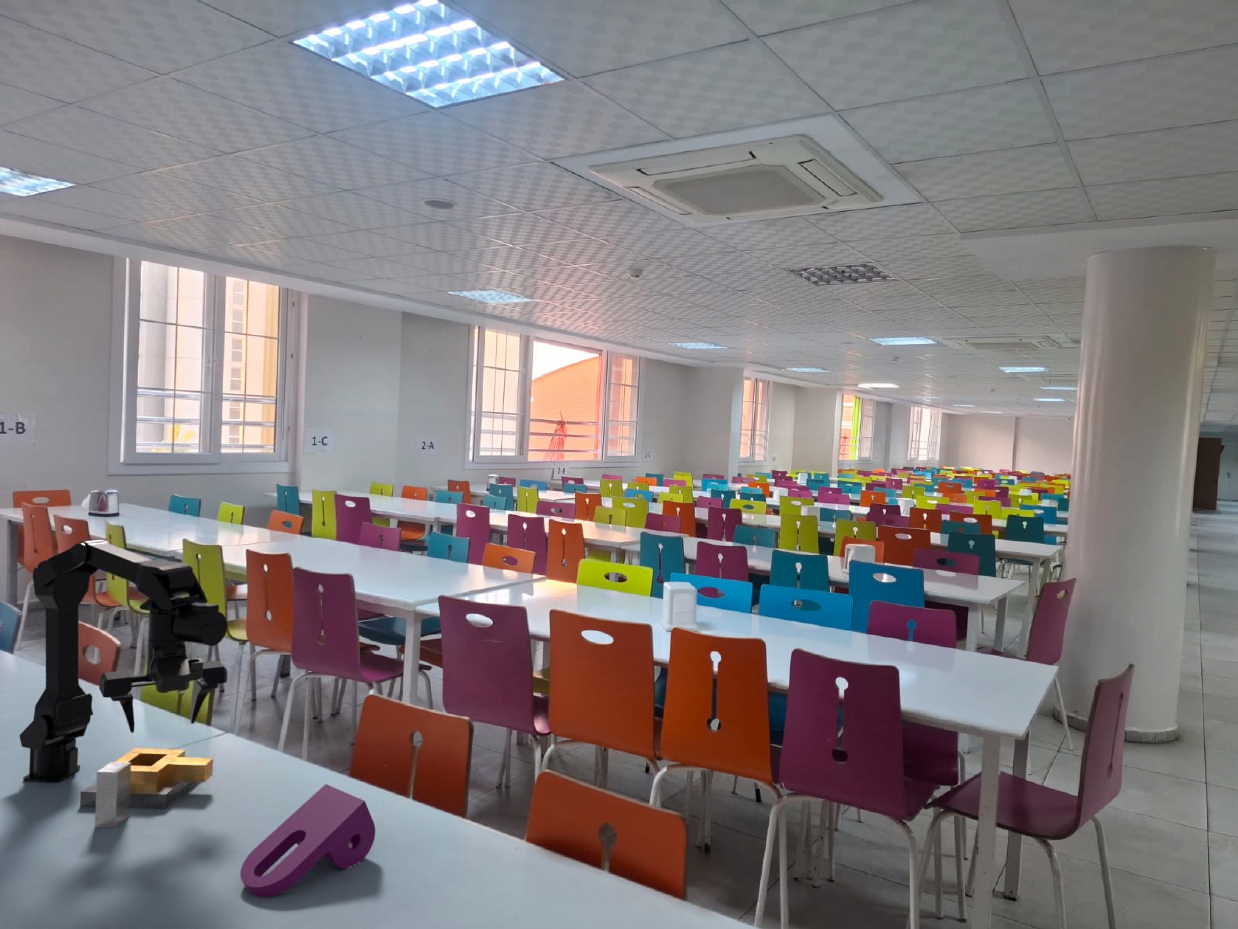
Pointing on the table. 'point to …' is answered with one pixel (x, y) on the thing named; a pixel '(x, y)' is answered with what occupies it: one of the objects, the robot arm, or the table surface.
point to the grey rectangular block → (112, 794)
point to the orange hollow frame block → (157, 777)
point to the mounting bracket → (311, 841)
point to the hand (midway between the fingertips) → (162, 727)
